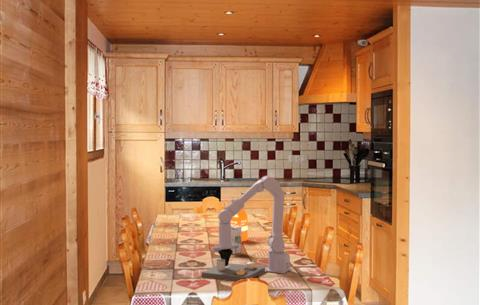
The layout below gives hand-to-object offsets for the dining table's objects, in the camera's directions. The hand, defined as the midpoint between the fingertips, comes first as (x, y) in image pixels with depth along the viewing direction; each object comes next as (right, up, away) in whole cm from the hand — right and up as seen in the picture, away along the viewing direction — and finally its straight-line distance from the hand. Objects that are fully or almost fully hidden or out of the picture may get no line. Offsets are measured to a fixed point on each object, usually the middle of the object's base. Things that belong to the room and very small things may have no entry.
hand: (225, 265), depth 256 cm
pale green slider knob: (-2, -1, -4) cm, 4 cm away
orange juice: (+6, -1, +75) cm, 76 cm away
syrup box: (+4, -2, +41) cm, 41 cm away
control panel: (+4, -3, -3) cm, 6 cm away
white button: (+11, -1, -2) cm, 12 cm away
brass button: (+7, -3, -10) cm, 13 cm away
